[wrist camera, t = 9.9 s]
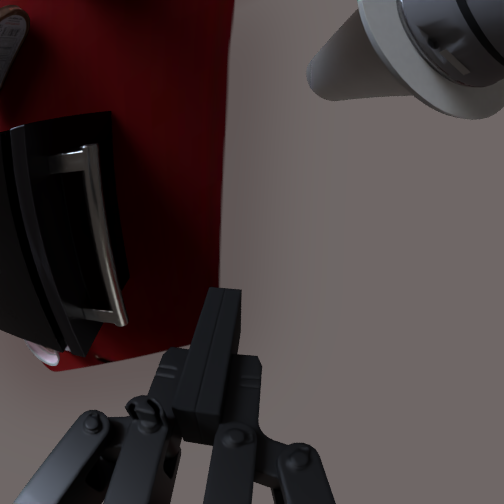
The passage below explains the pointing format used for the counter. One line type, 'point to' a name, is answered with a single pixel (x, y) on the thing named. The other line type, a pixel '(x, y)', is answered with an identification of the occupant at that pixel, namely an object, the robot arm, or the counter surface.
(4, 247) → the oven
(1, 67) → the tin
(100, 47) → the counter surface
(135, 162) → the counter surface
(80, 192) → the oven door
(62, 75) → the counter surface
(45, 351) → the teacup
